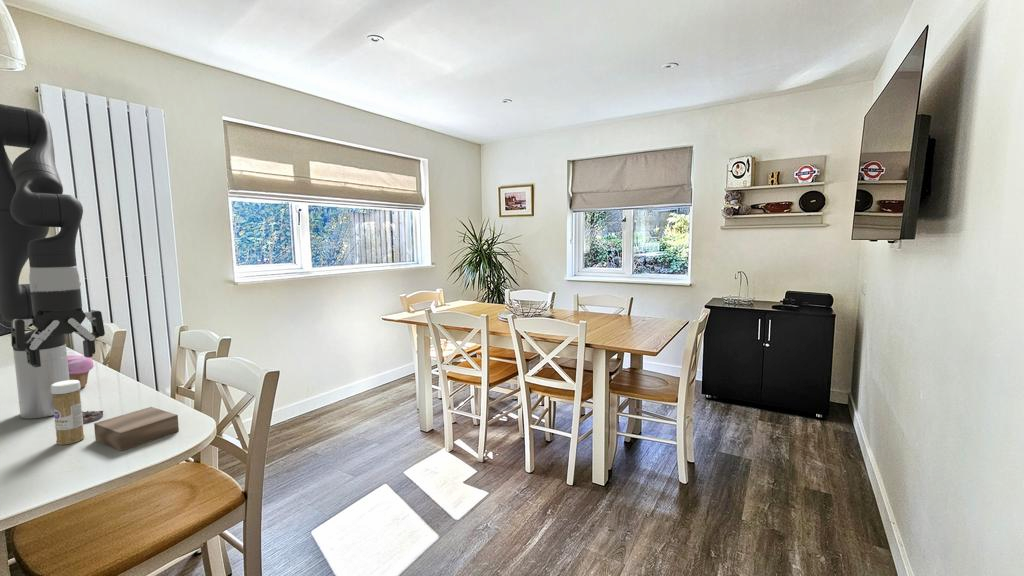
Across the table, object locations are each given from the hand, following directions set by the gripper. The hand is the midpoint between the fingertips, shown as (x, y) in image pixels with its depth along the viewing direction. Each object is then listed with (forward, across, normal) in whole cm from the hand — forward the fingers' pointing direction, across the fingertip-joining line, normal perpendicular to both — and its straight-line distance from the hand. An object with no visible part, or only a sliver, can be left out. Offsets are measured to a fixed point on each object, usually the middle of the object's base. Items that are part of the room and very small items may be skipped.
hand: (63, 361), depth 97 cm
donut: (+19, -7, -12) cm, 23 cm away
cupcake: (+18, -17, -43) cm, 50 cm away
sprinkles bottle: (+18, 0, 0) cm, 18 cm away
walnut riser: (+18, -8, +10) cm, 22 cm away
